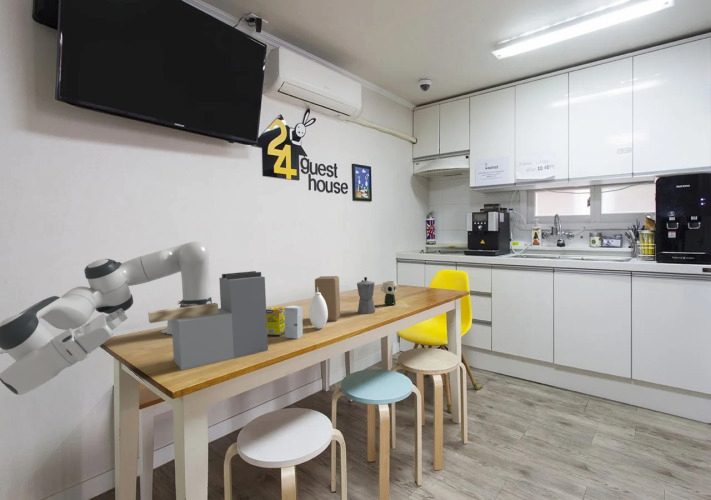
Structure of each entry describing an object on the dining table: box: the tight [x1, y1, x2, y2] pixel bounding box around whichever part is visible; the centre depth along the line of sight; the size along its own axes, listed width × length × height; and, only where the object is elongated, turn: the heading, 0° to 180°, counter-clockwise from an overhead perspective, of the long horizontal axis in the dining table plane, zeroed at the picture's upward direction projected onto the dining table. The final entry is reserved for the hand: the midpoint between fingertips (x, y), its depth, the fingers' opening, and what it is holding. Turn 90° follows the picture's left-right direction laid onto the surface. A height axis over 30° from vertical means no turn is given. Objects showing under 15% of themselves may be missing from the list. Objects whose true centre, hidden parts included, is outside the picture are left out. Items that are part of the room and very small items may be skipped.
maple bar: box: [148, 302, 219, 324], centre depth 115 cm, size 20×3×3 cm, turn 126°
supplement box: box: [266, 306, 286, 337], centre depth 146 cm, size 6×6×11 cm
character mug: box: [380, 280, 399, 306], centre depth 200 cm, size 11×7×13 cm, turn 117°
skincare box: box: [284, 305, 304, 340], centre depth 142 cm, size 6×4×12 cm
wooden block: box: [314, 275, 341, 322], centre depth 170 cm, size 10×10×20 cm
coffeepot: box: [356, 276, 376, 315], centre depth 184 cm, size 15×9×18 cm, turn 12°
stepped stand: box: [171, 270, 269, 371], centre depth 122 cm, size 28×12×28 cm, turn 127°
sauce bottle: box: [308, 287, 328, 330], centre depth 154 cm, size 8×8×18 cm
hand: (124, 312), depth 105 cm, fingers open, 8 cm apart
